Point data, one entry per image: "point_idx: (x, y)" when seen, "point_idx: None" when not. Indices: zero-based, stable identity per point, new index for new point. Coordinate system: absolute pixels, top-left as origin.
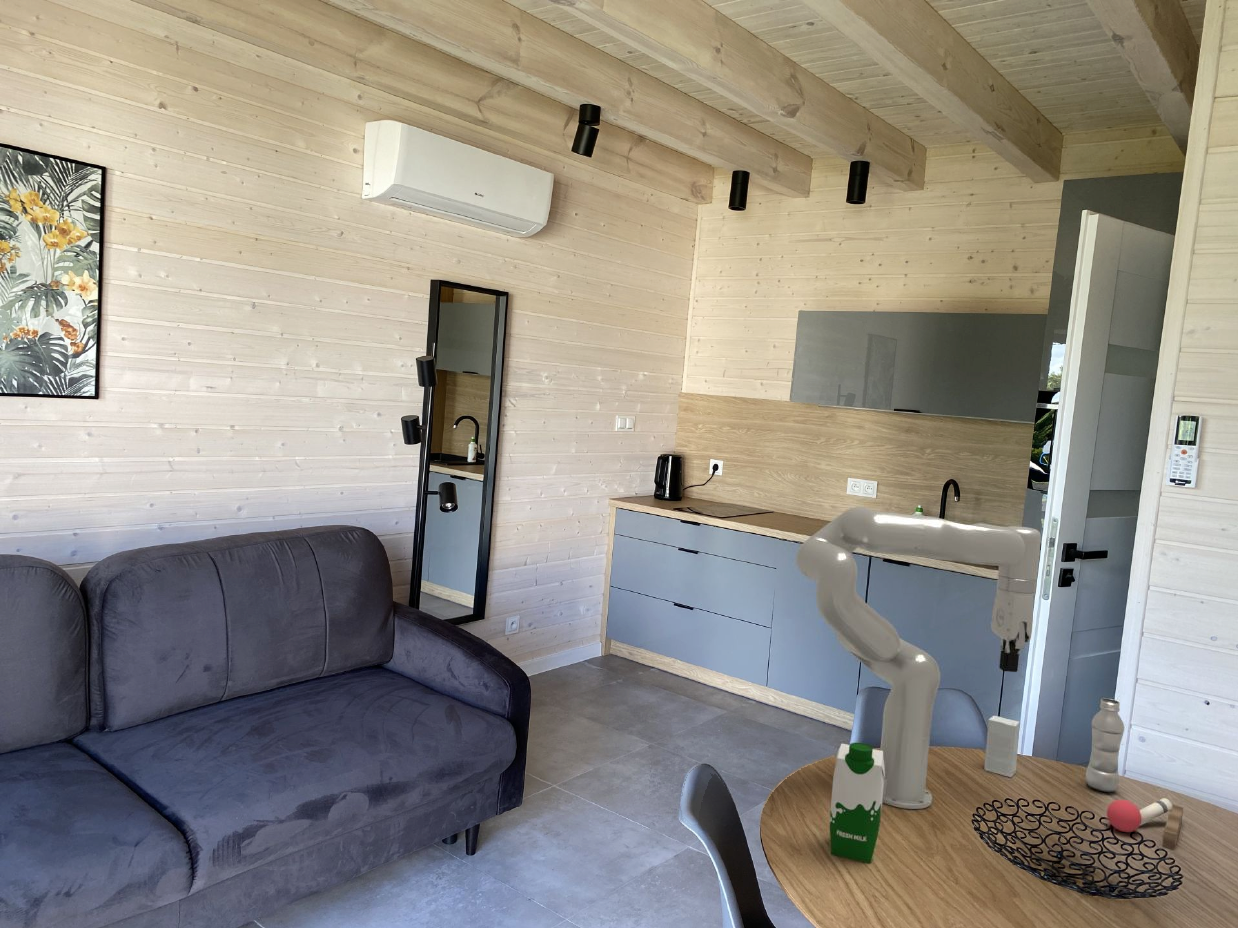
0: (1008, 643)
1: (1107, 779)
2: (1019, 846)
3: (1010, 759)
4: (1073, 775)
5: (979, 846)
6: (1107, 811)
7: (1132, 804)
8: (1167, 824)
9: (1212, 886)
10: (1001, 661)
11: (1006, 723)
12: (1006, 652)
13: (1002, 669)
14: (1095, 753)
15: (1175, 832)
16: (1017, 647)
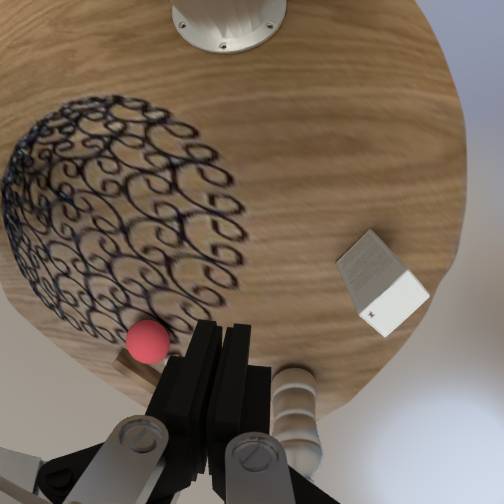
0: (77, 485)
1: (271, 390)
2: (75, 148)
3: (344, 274)
4: (342, 366)
5: (70, 88)
6: (151, 326)
7: (136, 358)
8: (137, 375)
9: (52, 332)
10: (225, 357)
11: (377, 301)
12: (150, 423)
13: (199, 321)
14: (291, 407)
15: (117, 369)
16: (2, 455)
